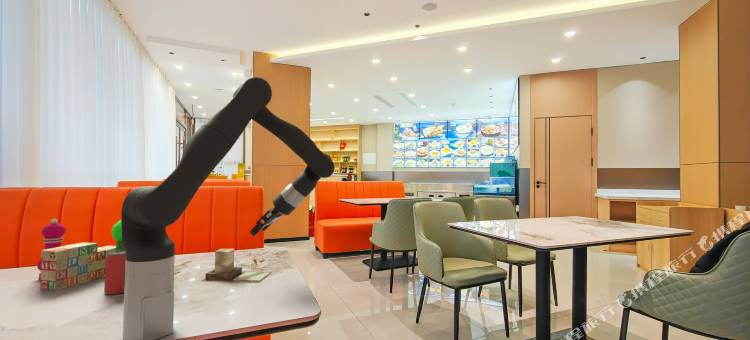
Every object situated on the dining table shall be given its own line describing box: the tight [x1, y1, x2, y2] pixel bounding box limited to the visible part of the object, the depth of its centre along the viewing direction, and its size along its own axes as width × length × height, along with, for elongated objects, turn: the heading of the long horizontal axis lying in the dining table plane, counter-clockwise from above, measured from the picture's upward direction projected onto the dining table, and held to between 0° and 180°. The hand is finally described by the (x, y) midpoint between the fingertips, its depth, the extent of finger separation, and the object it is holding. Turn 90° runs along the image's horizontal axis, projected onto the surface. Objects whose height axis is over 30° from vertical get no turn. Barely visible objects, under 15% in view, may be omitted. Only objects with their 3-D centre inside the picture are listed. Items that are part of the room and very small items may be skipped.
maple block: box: [214, 248, 235, 273], centre depth 112 cm, size 4×4×9 cm
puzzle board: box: [200, 266, 273, 284], centre depth 112 cm, size 20×12×3 cm, turn 88°
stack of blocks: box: [39, 242, 116, 291], centre depth 110 cm, size 21×6×12 cm, turn 170°
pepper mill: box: [37, 218, 67, 280], centre depth 112 cm, size 7×7×20 cm
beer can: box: [103, 250, 126, 296], centre depth 99 cm, size 7×7×12 cm
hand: (257, 231), depth 112 cm, fingers open, 8 cm apart
